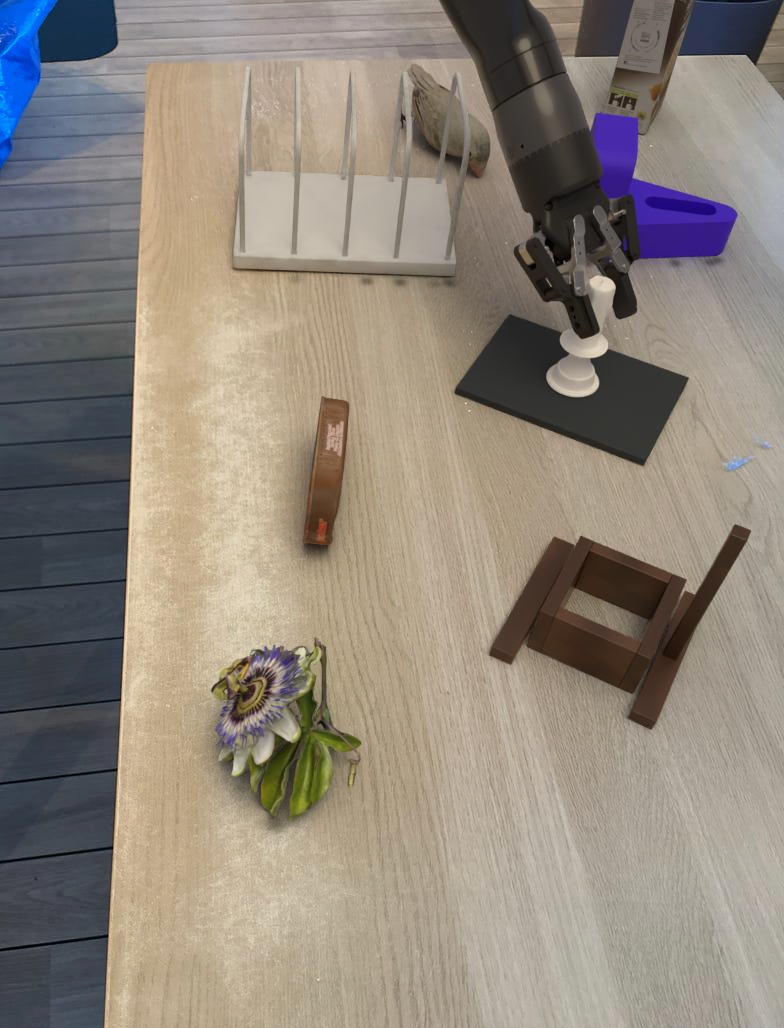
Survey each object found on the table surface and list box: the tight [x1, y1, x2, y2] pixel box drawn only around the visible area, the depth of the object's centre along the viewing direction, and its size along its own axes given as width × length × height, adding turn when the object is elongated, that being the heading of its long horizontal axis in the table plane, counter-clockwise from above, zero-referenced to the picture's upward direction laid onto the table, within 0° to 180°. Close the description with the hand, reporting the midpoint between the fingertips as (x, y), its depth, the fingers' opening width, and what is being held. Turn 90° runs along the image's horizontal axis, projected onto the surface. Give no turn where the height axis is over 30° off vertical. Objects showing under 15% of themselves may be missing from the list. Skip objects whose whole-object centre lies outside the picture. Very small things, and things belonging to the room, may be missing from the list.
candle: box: [546, 274, 616, 397], centre depth 96 cm, size 5×5×12 cm
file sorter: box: [232, 66, 471, 277], centre depth 110 cm, size 25×17×16 cm
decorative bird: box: [400, 63, 491, 178], centre depth 125 cm, size 5×16×8 cm, turn 33°
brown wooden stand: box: [488, 523, 752, 730], centre depth 77 cm, size 14×14×16 cm
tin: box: [302, 395, 350, 546], centre depth 88 cm, size 15×3×8 cm, turn 175°
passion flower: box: [210, 636, 362, 822], centre depth 73 cm, size 11×11×12 cm
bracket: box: [590, 112, 739, 261], centre depth 113 cm, size 18×11×12 cm, turn 79°
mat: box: [454, 313, 690, 466], centre depth 101 cm, size 20×14×1 cm
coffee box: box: [602, 0, 696, 135], centre depth 128 cm, size 9×6×16 cm
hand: (609, 325), depth 93 cm, fingers open, 4 cm apart
